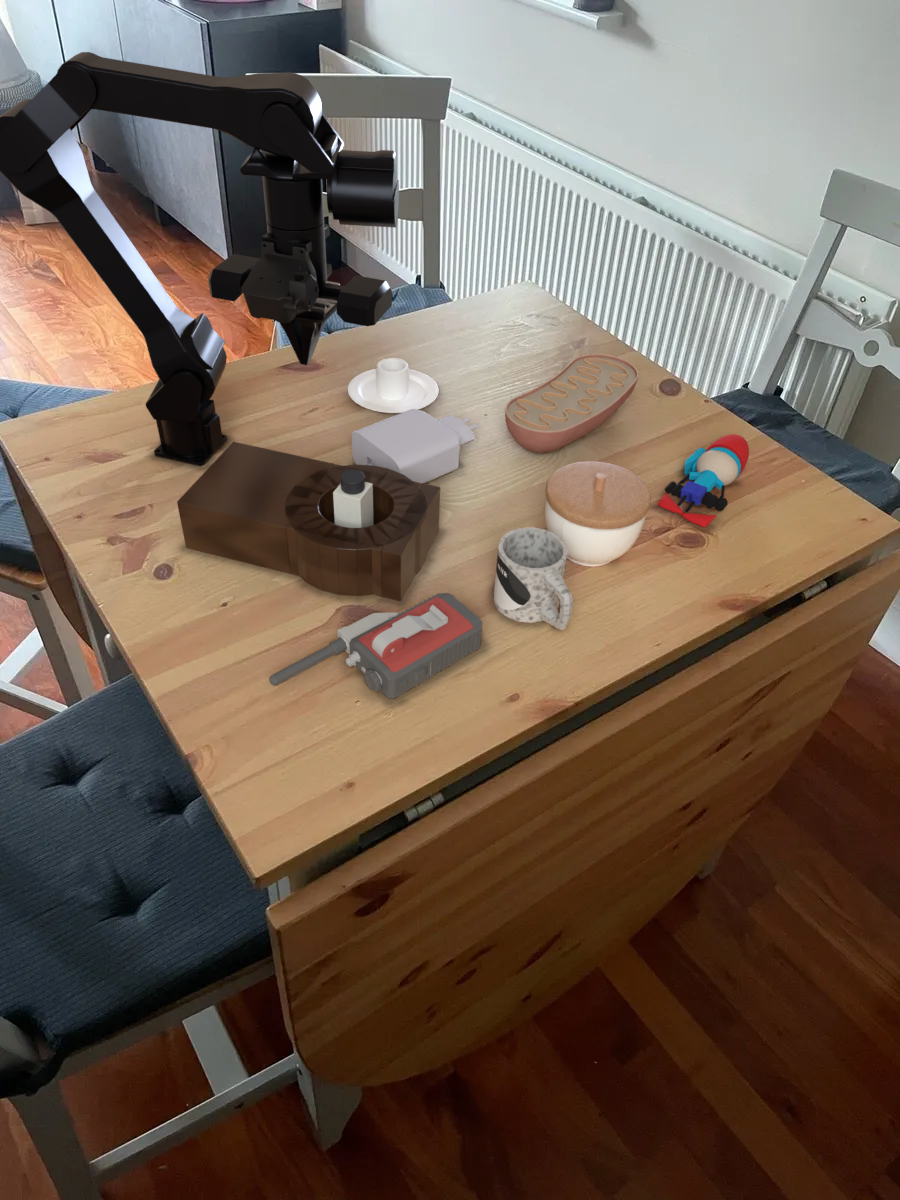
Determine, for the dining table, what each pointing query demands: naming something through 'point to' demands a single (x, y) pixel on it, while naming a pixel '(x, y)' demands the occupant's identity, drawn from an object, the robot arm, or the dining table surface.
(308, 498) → the wooden desk organizer
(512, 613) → the mug
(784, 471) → the dining table surface
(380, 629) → the walkie-talkie
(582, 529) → the trinket box
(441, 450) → the charger
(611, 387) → the anatomical model
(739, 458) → the toy figure
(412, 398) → the candle holder
